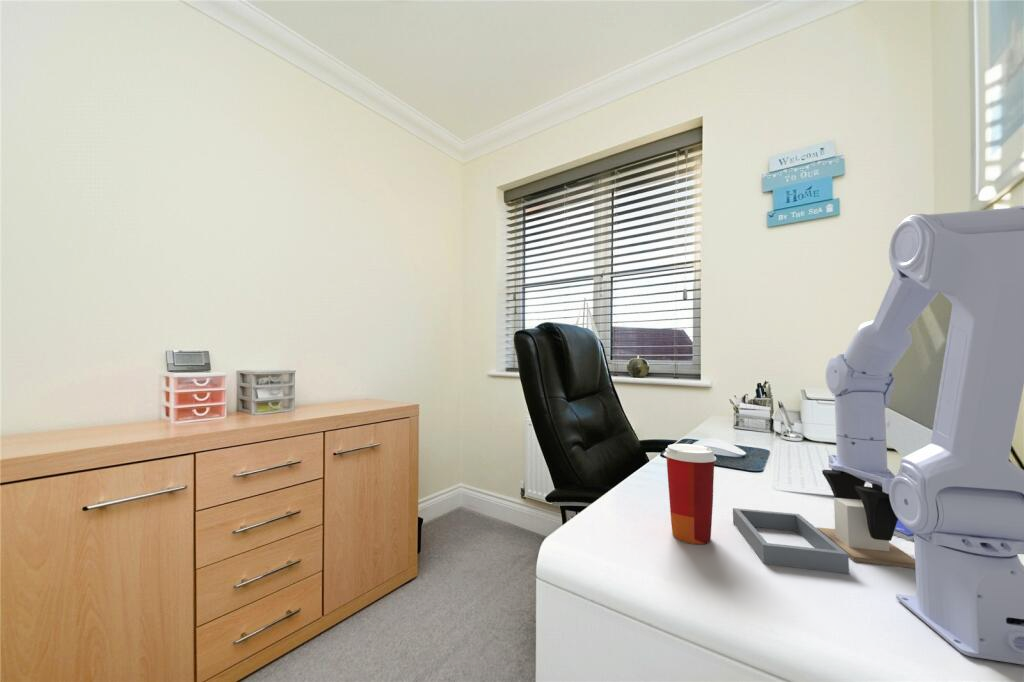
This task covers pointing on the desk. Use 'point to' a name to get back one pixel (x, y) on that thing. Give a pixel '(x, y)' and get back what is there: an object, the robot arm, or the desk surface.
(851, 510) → the block
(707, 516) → the paper cup
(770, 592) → the desk surface
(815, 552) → the tray
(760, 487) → the desk surface
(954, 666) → the desk surface
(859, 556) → the pad
